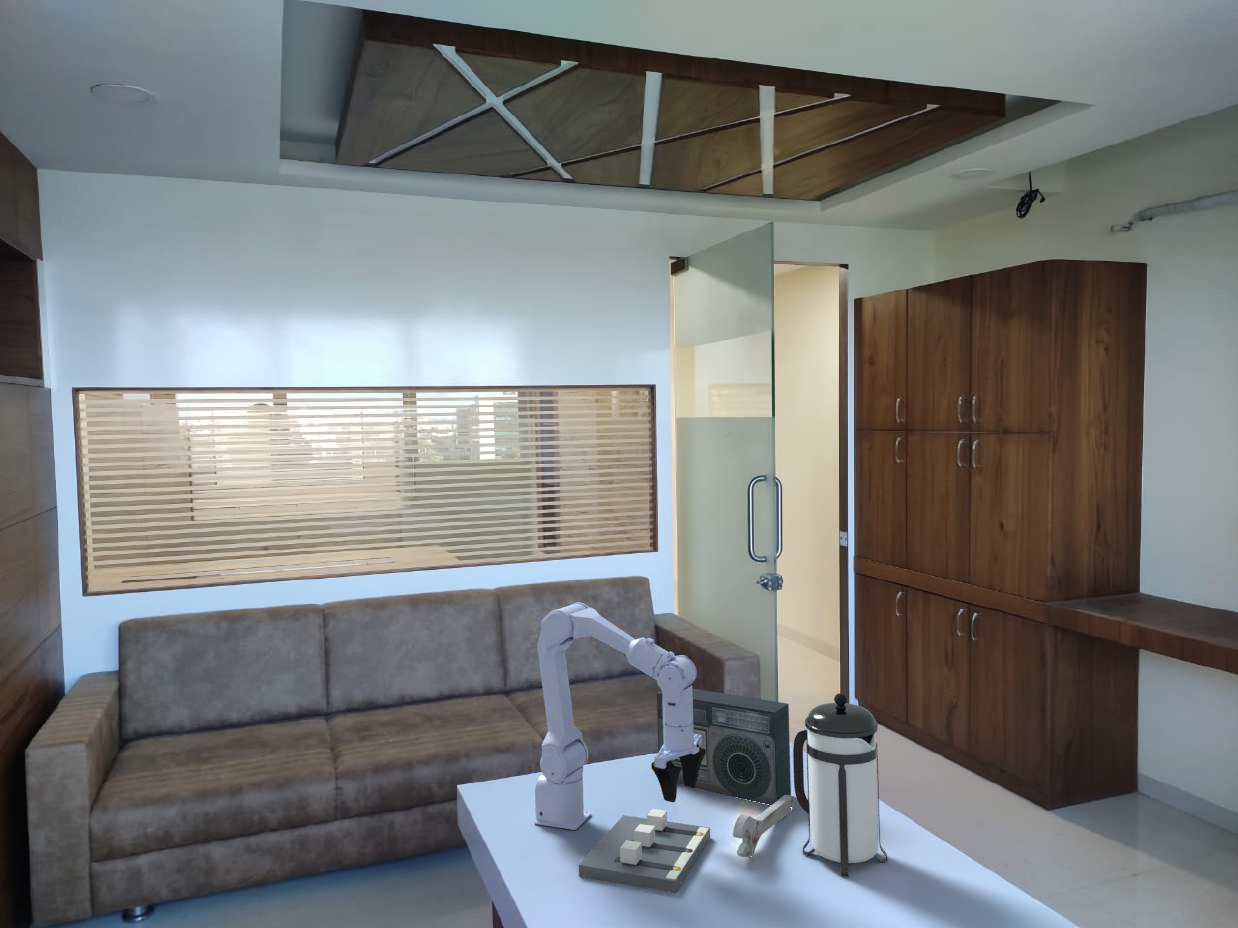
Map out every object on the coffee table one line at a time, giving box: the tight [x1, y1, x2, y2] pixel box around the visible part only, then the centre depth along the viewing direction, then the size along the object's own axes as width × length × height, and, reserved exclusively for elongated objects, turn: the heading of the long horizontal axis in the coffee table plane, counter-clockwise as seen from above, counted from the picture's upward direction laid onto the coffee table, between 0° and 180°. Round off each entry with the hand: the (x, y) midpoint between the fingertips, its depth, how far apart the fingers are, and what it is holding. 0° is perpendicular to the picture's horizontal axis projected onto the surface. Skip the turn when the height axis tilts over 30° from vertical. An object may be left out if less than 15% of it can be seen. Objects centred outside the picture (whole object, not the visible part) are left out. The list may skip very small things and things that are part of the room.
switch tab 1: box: [620, 840, 642, 865], centre depth 151 cm, size 3×3×3 cm
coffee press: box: [792, 692, 888, 877], centre depth 155 cm, size 17×16×30 cm
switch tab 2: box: [646, 808, 668, 831], centre depth 164 cm, size 3×3×3 cm
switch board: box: [578, 815, 711, 894], centre depth 158 cm, size 18×22×2 cm
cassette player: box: [656, 688, 792, 806], centre depth 188 cm, size 29×7×20 cm, turn 55°
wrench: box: [732, 795, 795, 858], centre depth 165 cm, size 8×2×30 cm
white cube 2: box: [634, 824, 655, 847], centre depth 158 cm, size 3×3×3 cm
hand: (680, 793), depth 162 cm, fingers open, 7 cm apart
